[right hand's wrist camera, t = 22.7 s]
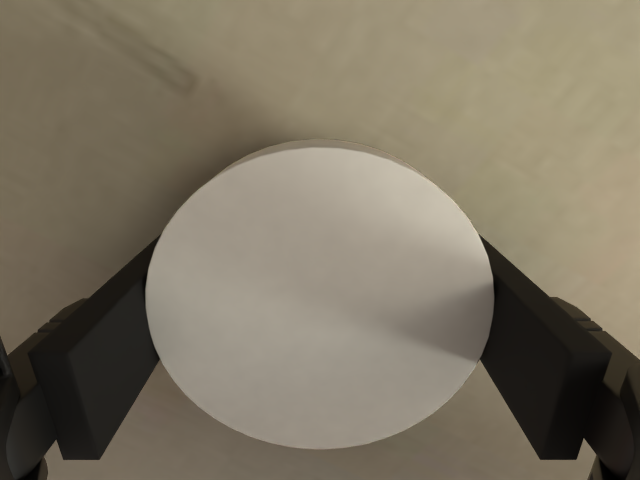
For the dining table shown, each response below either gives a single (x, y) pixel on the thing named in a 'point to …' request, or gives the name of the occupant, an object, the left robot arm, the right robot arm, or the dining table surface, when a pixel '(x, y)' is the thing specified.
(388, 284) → the lid
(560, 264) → the dining table surface
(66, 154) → the dining table surface
